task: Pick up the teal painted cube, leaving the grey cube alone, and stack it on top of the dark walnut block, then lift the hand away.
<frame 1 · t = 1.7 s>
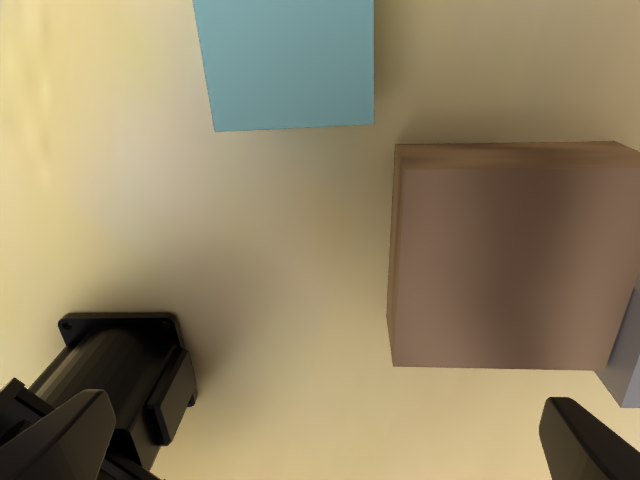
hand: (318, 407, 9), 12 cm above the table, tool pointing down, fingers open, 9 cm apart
walnut block: (485, 236, 20), on the table
teal cube: (302, 36, 17), on the table
grey cube: (628, 289, 21), on the table
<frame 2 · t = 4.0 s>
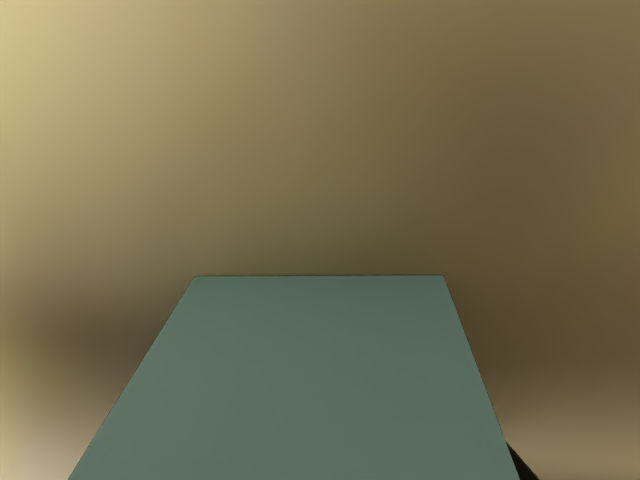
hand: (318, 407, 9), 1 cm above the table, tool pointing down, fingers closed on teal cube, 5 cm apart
teal cube: (321, 370, 10), on the table, touching gripper
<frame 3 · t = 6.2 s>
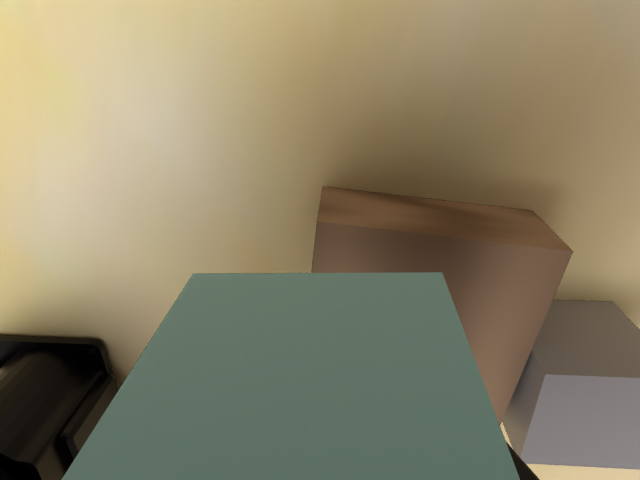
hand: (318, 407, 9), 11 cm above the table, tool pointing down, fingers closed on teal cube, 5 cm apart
walnut block: (406, 283, 20), on the table
teal cube: (320, 367, 10), point 10 cm above the table, touching gripper
grey cube: (544, 340, 21), on the table
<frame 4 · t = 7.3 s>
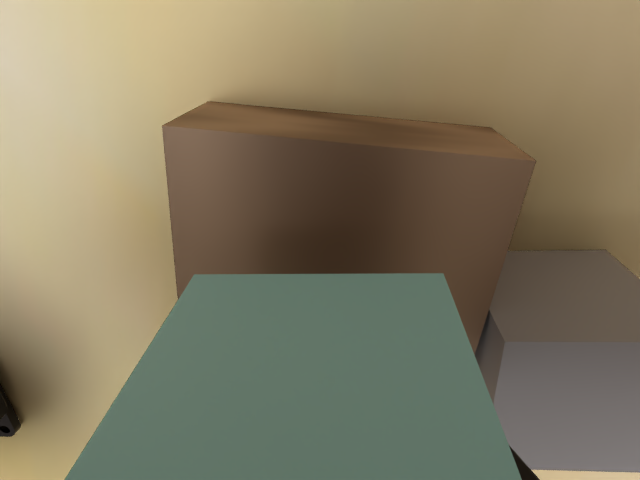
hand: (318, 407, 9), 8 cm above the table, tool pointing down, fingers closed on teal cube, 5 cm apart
walnut block: (335, 236, 16), on the table
teal cube: (321, 368, 10), point 7 cm above the table, touching gripper
grey cube: (520, 307, 16), on the table
when the fingers open (6 cm above the table, at t = 8.3 s): teal cube drops 2 cm, point 4 cm above the table.
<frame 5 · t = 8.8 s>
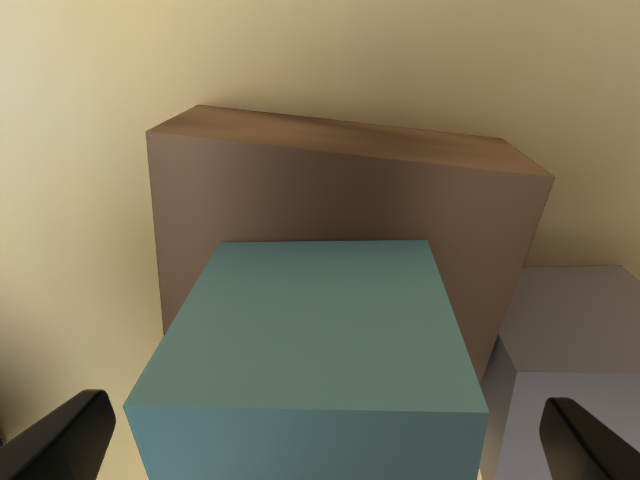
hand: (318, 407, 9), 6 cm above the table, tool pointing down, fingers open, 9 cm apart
walnut block: (333, 249, 15), on the table
teal cube: (325, 324, 11), point 4 cm above the table
grey cube: (529, 325, 15), on the table
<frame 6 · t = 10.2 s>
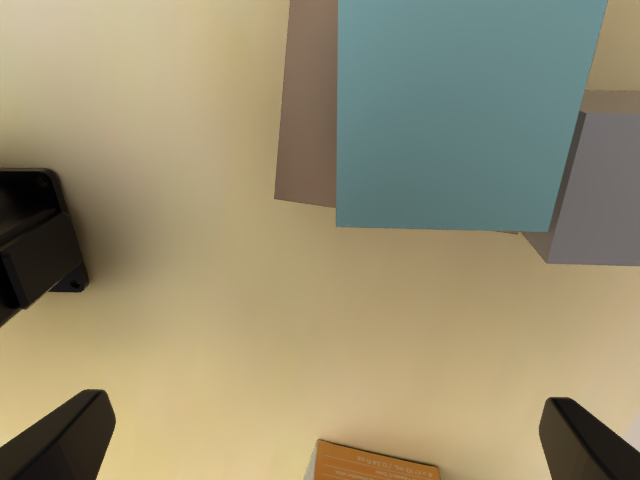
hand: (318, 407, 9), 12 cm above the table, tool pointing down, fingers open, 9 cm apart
walnut block: (410, 75, 17), on the table
teal cube: (421, 91, 14), point 4 cm above the table
grey cube: (574, 153, 18), on the table
small box: (364, 477, 28), on the table
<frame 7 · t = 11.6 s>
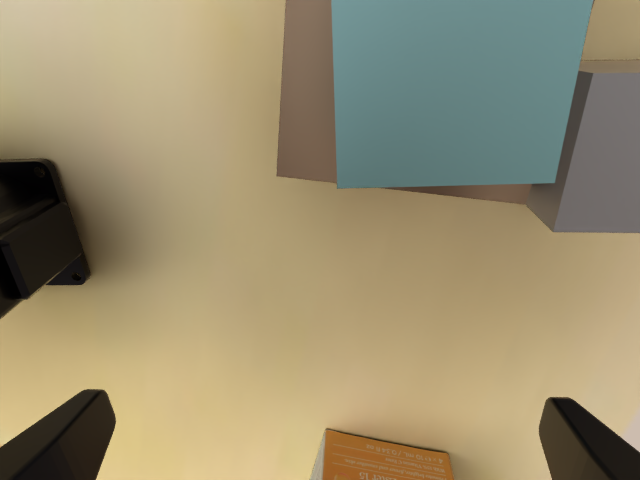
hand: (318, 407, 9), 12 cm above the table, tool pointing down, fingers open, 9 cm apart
walnut block: (410, 49, 17), on the table, touching teal cube
teal cube: (418, 55, 13), point 4 cm above the table, touching walnut block
grey cube: (576, 125, 17), on the table
small box: (373, 466, 28), on the table
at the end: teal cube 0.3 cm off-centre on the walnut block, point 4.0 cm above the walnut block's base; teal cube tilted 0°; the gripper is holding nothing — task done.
